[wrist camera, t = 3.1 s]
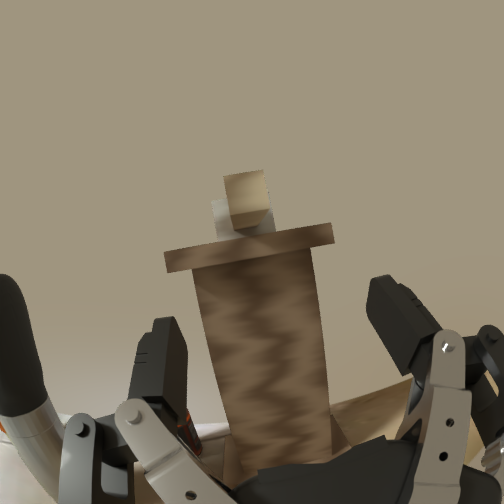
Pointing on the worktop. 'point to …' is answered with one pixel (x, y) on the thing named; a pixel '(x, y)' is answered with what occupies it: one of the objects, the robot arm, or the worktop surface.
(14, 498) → the worktop surface
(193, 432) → the supplement bottle
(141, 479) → the worktop surface
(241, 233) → the grey and beige bar
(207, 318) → the stand
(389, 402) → the worktop surface
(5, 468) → the worktop surface
